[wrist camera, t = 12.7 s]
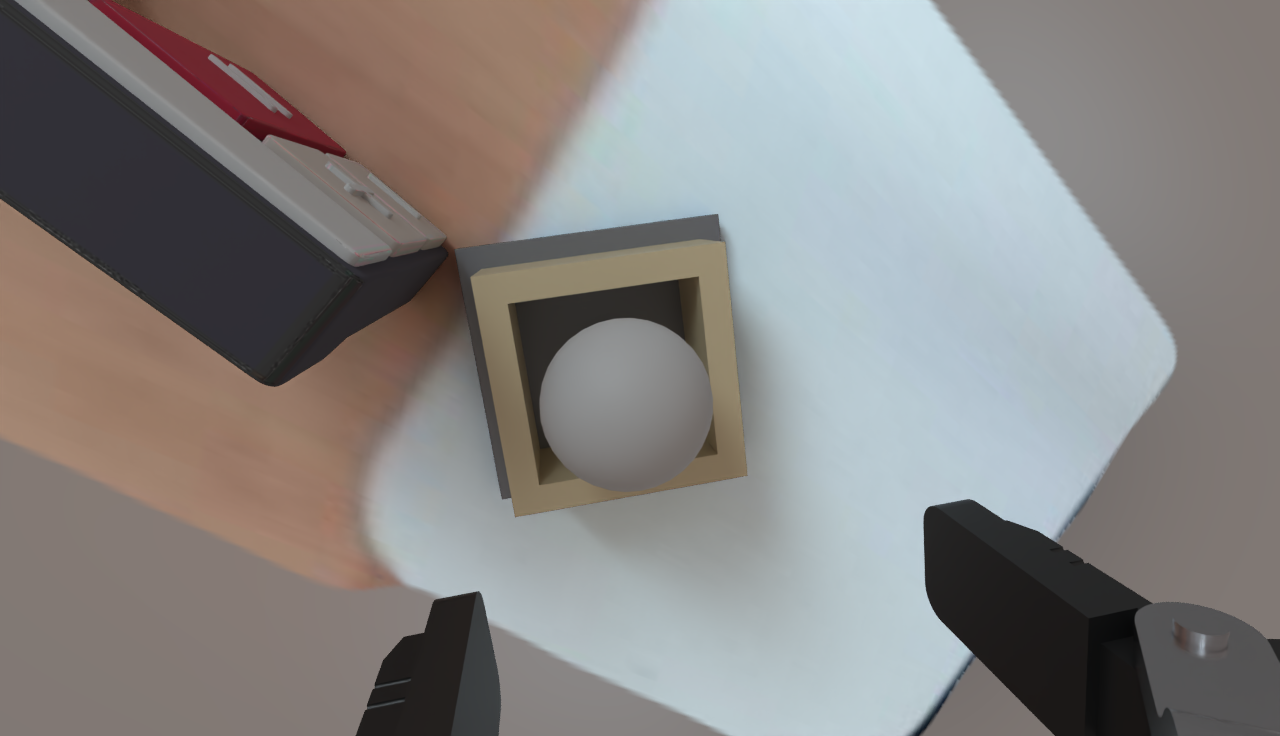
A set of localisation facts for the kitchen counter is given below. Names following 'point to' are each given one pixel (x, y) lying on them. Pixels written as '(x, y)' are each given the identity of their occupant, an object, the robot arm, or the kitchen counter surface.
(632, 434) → the lightbulb
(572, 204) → the kitchen counter surface
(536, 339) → the bulb holder
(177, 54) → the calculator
